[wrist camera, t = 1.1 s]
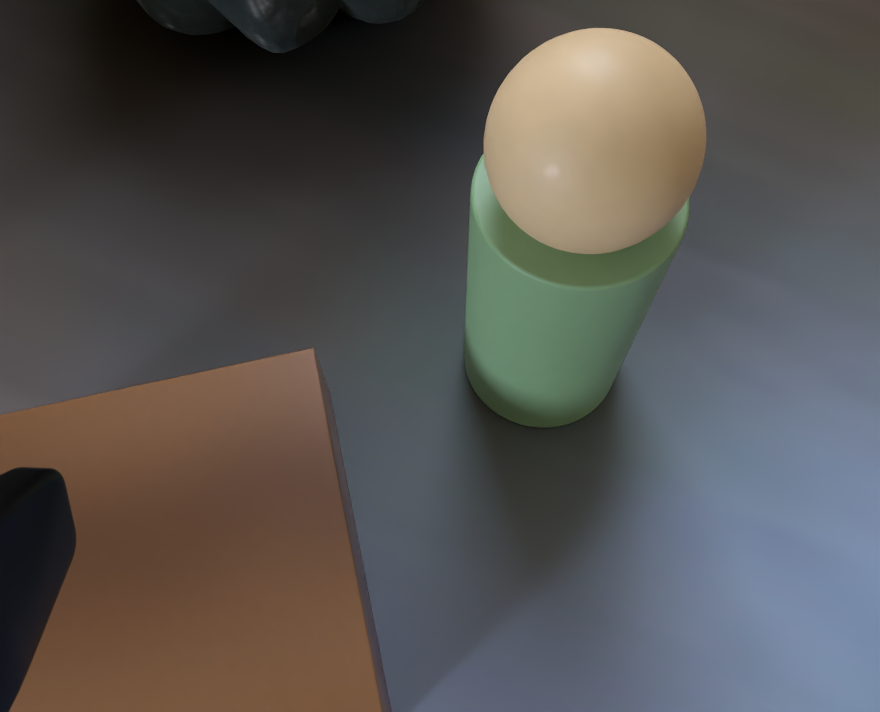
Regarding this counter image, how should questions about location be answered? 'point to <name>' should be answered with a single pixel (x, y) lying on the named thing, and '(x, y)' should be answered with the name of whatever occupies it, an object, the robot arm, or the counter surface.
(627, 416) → the counter surface
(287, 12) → the squash
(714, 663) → the counter surface
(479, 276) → the peg doll
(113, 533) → the walnut block
